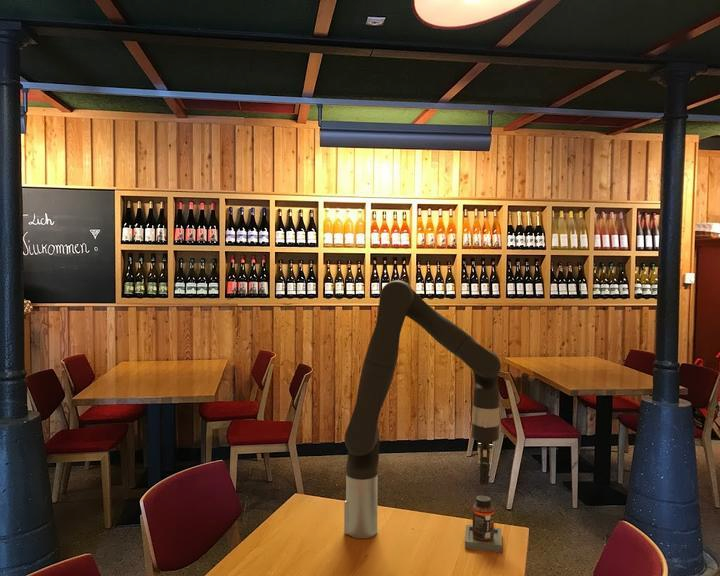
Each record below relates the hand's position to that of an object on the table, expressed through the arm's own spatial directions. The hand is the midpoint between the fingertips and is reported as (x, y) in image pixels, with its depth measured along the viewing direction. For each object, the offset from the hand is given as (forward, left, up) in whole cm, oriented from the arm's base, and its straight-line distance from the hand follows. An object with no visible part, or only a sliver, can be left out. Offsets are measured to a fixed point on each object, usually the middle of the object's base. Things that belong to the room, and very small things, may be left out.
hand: (484, 478), depth 157 cm
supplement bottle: (0, 0, -17) cm, 17 cm away
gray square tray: (0, 0, -18) cm, 18 cm away
